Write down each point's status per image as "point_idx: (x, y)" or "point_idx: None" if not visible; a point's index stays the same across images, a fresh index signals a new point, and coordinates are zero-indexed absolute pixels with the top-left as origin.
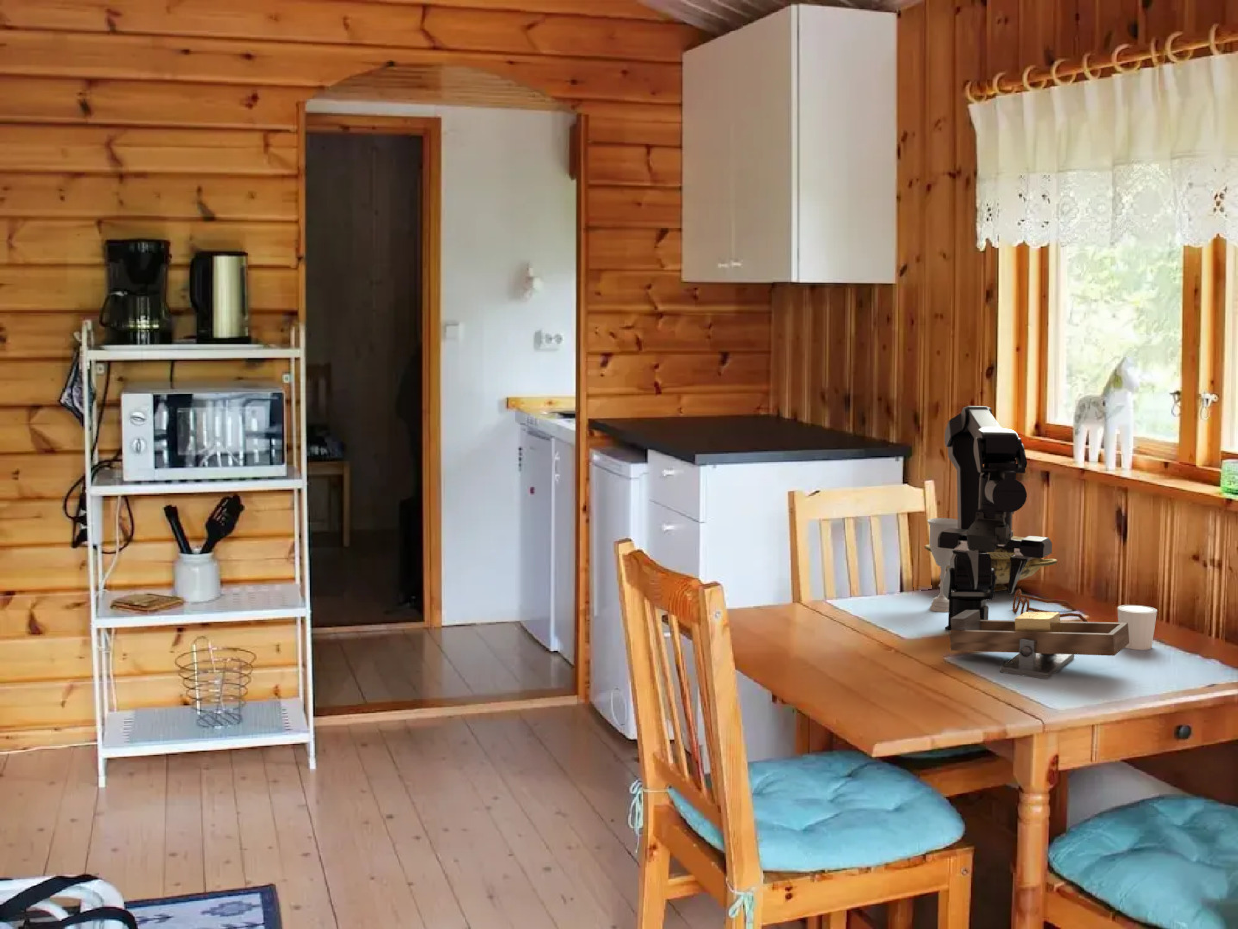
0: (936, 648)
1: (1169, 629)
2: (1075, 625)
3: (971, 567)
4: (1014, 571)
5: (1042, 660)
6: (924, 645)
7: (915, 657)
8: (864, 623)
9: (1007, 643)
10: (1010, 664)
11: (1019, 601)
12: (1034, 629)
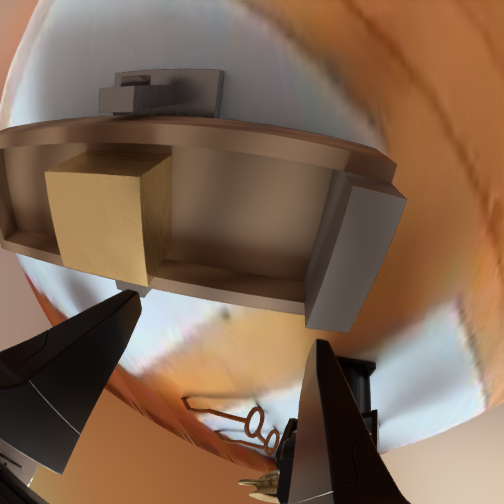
0: (405, 247)
1: (116, 383)
2: None
3: (333, 453)
4: (30, 349)
5: None
6: (428, 264)
7: (451, 151)
8: (485, 357)
9: (189, 119)
10: (200, 101)
11: (267, 439)
12: (101, 162)
